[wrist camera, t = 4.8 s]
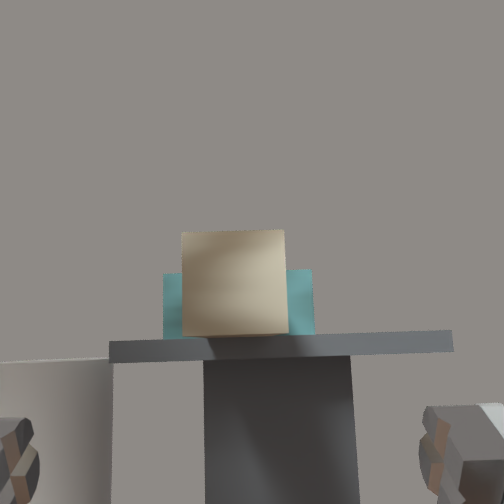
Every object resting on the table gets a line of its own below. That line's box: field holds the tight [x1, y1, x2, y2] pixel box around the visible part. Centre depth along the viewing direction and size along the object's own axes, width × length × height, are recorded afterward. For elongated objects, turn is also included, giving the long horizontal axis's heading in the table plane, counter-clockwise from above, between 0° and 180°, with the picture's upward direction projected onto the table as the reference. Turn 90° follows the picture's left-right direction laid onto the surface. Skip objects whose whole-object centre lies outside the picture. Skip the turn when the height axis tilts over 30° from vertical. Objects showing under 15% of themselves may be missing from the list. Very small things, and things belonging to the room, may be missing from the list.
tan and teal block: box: [163, 230, 315, 340], centre depth 24 cm, size 8×20×4 cm, turn 1°
